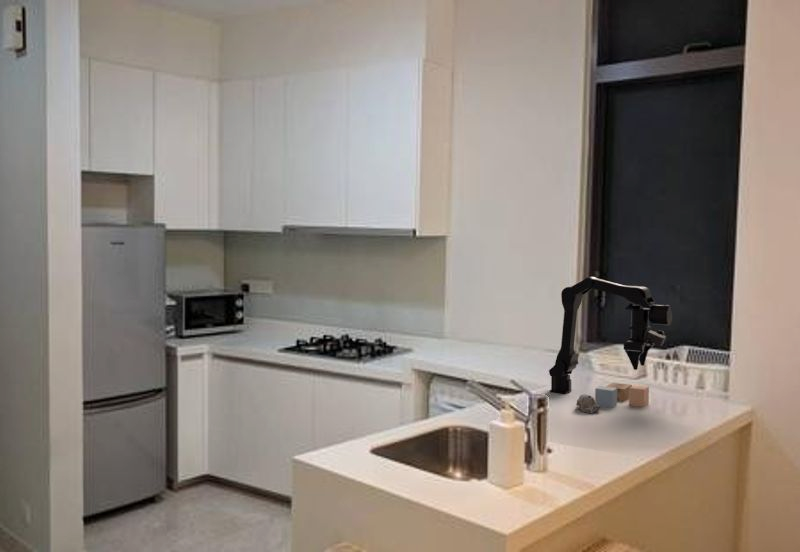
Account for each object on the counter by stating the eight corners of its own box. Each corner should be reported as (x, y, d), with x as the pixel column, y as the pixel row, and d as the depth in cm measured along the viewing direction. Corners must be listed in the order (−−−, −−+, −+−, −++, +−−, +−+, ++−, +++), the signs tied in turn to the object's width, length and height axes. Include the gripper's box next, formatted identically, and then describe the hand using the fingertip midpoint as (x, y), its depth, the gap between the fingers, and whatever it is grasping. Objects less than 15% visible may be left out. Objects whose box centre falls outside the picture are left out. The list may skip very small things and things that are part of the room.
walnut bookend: (604, 399, 258) (604, 386, 258) (612, 394, 266) (612, 382, 265) (624, 401, 254) (624, 389, 254) (631, 397, 262) (631, 384, 261)
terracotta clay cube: (643, 406, 246) (644, 389, 246) (628, 405, 249) (629, 387, 249) (648, 403, 251) (648, 386, 251) (633, 401, 254) (633, 384, 254)
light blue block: (595, 405, 248) (595, 388, 248) (599, 402, 252) (600, 385, 252) (612, 408, 245) (612, 390, 244) (617, 405, 249) (617, 387, 249)
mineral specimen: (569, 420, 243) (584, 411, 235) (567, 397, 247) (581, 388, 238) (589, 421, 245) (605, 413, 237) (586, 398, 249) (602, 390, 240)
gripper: (657, 327, 238) (656, 374, 239) (670, 321, 254) (669, 365, 255) (623, 325, 244) (622, 371, 245) (637, 319, 260) (637, 362, 261)
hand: (639, 367), depth 251 cm, fingers open, 9 cm apart
